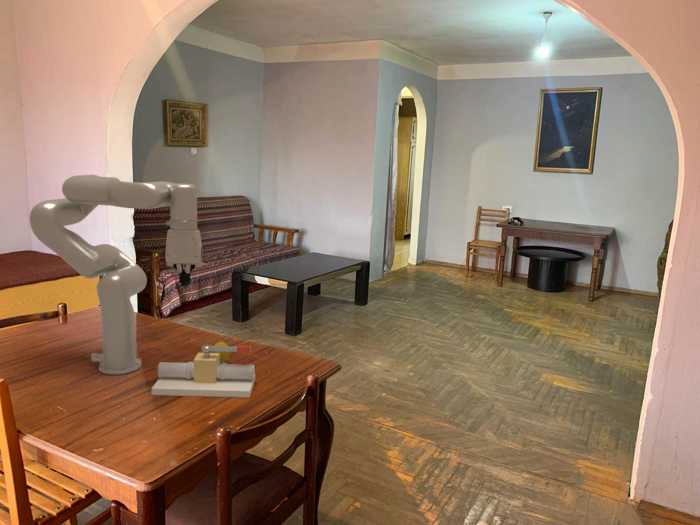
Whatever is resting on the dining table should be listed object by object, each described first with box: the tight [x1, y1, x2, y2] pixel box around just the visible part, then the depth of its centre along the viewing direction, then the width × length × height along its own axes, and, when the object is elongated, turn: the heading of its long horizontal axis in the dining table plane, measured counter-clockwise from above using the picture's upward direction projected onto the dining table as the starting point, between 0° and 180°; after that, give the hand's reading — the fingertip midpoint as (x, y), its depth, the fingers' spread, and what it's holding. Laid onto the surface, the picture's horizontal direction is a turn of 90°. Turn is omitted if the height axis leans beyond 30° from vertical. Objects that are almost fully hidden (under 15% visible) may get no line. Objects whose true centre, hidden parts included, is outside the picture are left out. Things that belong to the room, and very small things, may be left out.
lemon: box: [211, 341, 230, 364], centre depth 178 cm, size 6×6×8 cm
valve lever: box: [201, 344, 252, 355], centre depth 161 cm, size 14×3×2 cm, turn 94°
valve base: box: [151, 352, 256, 399], centre depth 160 cm, size 28×12×10 cm, turn 92°
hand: (185, 285), depth 163 cm, fingers closed
